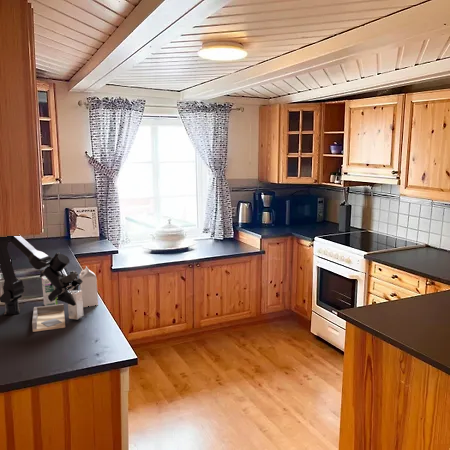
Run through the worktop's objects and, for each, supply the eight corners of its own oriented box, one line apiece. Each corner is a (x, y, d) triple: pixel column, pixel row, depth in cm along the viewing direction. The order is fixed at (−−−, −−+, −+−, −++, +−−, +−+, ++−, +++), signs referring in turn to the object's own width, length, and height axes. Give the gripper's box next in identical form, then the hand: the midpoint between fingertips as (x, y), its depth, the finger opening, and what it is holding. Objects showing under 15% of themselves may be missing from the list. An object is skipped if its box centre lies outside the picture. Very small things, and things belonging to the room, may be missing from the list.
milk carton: (95, 301, 230) (93, 264, 227) (98, 305, 224) (96, 268, 221) (80, 303, 227) (78, 266, 224) (83, 307, 221) (80, 270, 218)
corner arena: (34, 315, 212) (33, 307, 211) (64, 311, 216) (63, 303, 215) (32, 331, 193) (32, 322, 192) (65, 327, 198) (64, 318, 197)
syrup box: (45, 307, 221) (43, 279, 219) (43, 304, 226) (41, 276, 224) (58, 305, 224) (55, 277, 221) (55, 302, 229) (53, 274, 226)
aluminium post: (68, 318, 204) (67, 292, 202) (74, 314, 208) (73, 289, 206) (77, 319, 203) (76, 293, 201) (83, 315, 207) (81, 290, 205)
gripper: (51, 272, 194) (75, 299, 193) (77, 261, 211) (99, 286, 210) (37, 288, 197) (61, 315, 196) (64, 276, 215) (86, 300, 214)
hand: (78, 303), depth 204 cm, fingers closed on aluminium post, 4 cm apart
